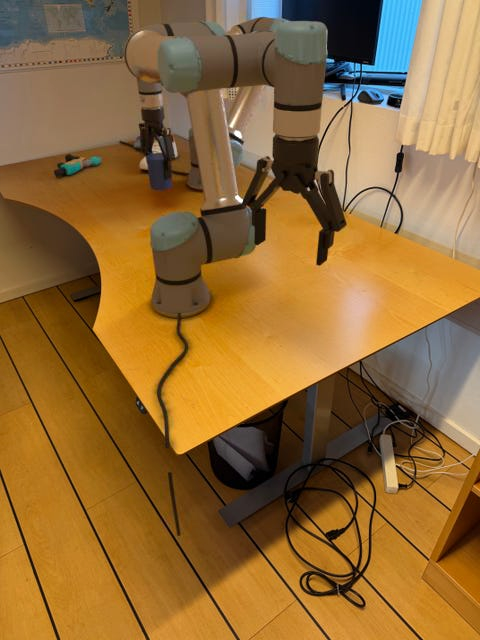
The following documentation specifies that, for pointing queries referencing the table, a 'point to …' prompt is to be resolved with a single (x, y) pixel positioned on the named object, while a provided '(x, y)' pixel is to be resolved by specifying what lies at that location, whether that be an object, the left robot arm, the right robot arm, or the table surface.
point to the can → (157, 172)
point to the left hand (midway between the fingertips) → (289, 252)
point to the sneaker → (157, 150)
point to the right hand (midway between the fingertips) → (160, 175)
